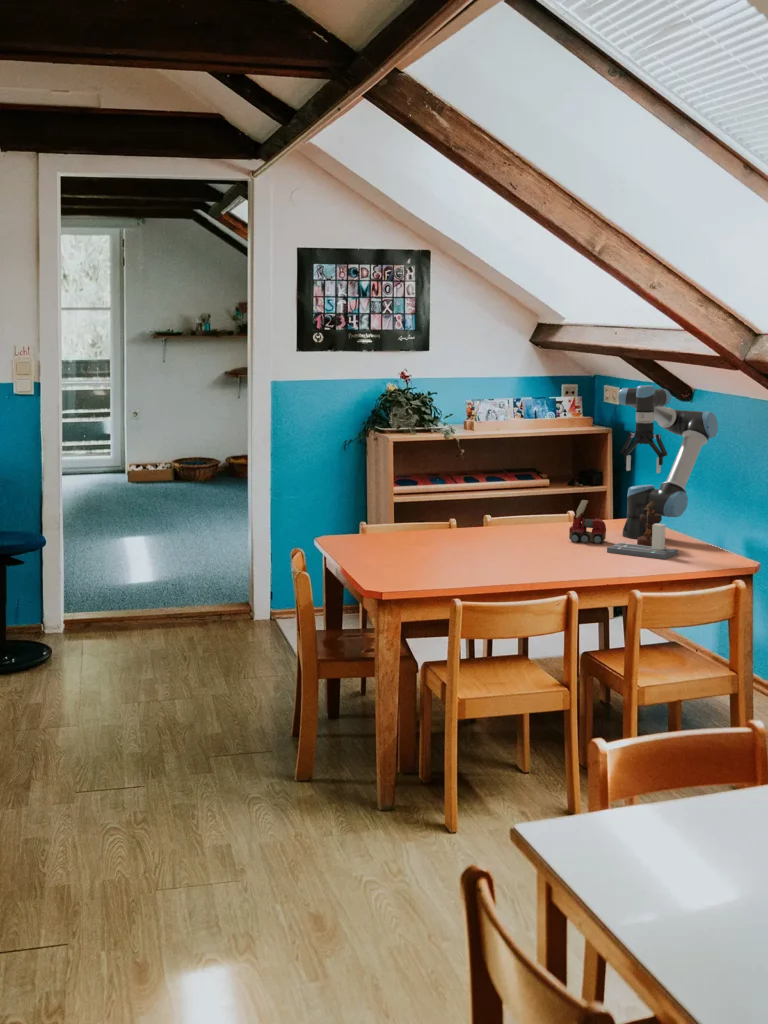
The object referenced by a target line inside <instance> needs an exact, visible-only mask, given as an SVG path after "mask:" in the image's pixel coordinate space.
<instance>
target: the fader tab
mask: <svg viewBox="0 0 768 1024" xmlns="http://www.w3.org/2000/svg"><path fill="white" fill-rule="evenodd" d="M666 526H667V525H666V524H665V523H656V524H654V525H652V548H650V550H658V551H664V550H666V548H667V547H666Z"/></svg>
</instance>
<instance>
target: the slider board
mask: <svg viewBox="0 0 768 1024" xmlns="http://www.w3.org/2000/svg"><path fill="white" fill-rule="evenodd" d="M650 548H652V546H643V545H637V544H635V543H625V542H619V543H616V544H613V545H610V546H607V547H606V553H610V554H617V555H618V554H619V555H627V556H632V557H633V556H635V557H643V558H650V559H651V558H652V559H659V560H668V559H670V558H672V557H675V556H677V555H679V549H677V548H676V549H675V548H668V547H665V548H666V550H664V551H658V550H650Z"/></svg>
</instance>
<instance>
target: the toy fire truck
mask: <svg viewBox="0 0 768 1024" xmlns="http://www.w3.org/2000/svg"><path fill="white" fill-rule="evenodd" d="M588 503H589V500H585V499H582V500H581V501H580V503H579V505H578V507H577V509H576V511H575V513H576V514H575V515H573V518H572V519H573V520H572V525H571V526H570V527H569V529H568V531H569V536H568V537H569V540H570V541H571V542H572V543H574V542H576V543H578V542H579V541H580V542H581V544H587V543H589V542H593V543H594V544H595V545H600V544H601V543H602V542H604V541H605V540H606V538H607V537H606V536H607V526H606V523H605V522H604V520H603V519H600V518H595V519H594V518H589V519H588V518H584V517H583V518H582V515H584V512H585V510H586V508H587V505H588ZM587 528H588V529H591V531H589V530H588V531H587Z"/></svg>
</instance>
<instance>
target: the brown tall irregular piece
mask: <svg viewBox="0 0 768 1024" xmlns="http://www.w3.org/2000/svg"><path fill="white" fill-rule="evenodd" d="M654 508H655V503H654V502H653V501H651V502H650V503H649V504H647V505H646V506H645V508H644V509H643V510H649V511H647V513H642V514H641V515H640V521H641V522H642V523H647V524H645V527H648V528H647V530H646V531H645V533H644V536H640V537H639V538H636V545H643V546H652V525H654V524H656V523H657V524H661V521H663V519H662V518H663V516H661V515H660V514H658V513H655V512H654V510H653V509H654ZM650 510H653V511H652V512H651V513H650ZM650 524H651V525H650Z"/></svg>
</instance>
